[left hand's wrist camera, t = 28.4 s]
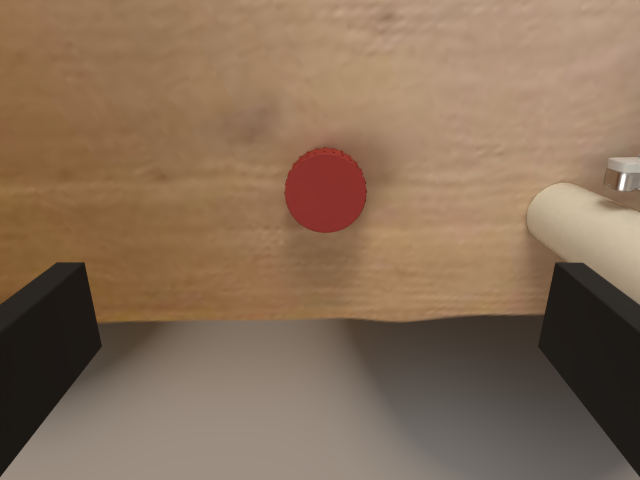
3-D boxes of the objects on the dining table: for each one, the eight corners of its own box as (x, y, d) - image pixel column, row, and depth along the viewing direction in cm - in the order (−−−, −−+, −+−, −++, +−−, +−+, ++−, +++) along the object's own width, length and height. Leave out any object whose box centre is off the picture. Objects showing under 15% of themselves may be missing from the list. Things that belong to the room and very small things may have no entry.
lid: (299, 136, 29) (297, 141, 27) (375, 161, 30) (379, 167, 27) (277, 210, 31) (274, 220, 29) (349, 232, 31) (351, 243, 29)
